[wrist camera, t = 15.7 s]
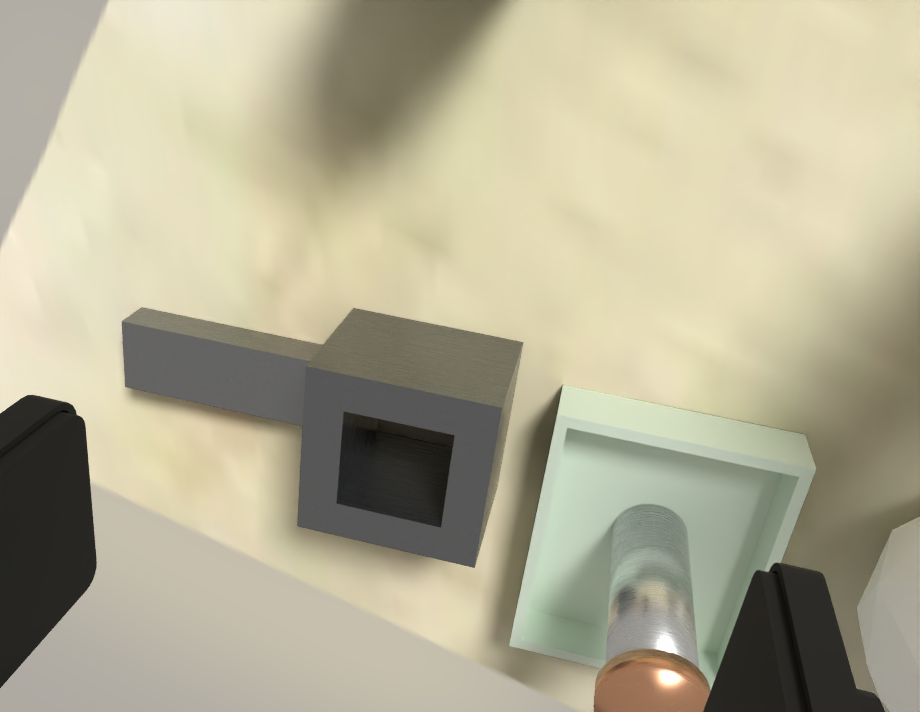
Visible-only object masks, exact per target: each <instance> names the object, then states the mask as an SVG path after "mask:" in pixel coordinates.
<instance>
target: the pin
mask: <svg viewBox="0 0 920 712" xmlns="http://www.w3.org/2000/svg"><path fill="white" fill-rule="evenodd" d="M710 691H711V690H710V686H709V683H708V681H707V679H706V677H705V676H704V674H703V673H702V672H701V671H700V669H699V663H698V651H697V639H696V627H695V615H694V603H693V591H692V579H691V567H690V555H689V543H688V532H687V528H686V525H685V523H684V522H683V520H682V519H681V518H680V516H679V515H677V514H676V513H675V512H674V511H672V510H670V509H668V508H666V507H664V506H660V505H656V504H641V505H636V506H633V507H630V508H628V509H626V510H625V511H623V512H622V513H621V514H620V515H619V516H618V517H617V519H616V520H615V522H614V524H613V527H612V539H611V561H610V582H609V603H608V625H607V646H606V664H605V665H604V666H603V667H602V668H601V670H600V671H599V673H598V675H597V678H596V683H595V696H594V712H703V711H704V708H705V705H706V702H707V700H708V697H709V694H710Z"/></svg>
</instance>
